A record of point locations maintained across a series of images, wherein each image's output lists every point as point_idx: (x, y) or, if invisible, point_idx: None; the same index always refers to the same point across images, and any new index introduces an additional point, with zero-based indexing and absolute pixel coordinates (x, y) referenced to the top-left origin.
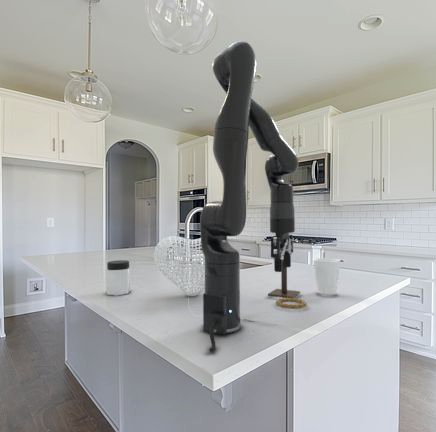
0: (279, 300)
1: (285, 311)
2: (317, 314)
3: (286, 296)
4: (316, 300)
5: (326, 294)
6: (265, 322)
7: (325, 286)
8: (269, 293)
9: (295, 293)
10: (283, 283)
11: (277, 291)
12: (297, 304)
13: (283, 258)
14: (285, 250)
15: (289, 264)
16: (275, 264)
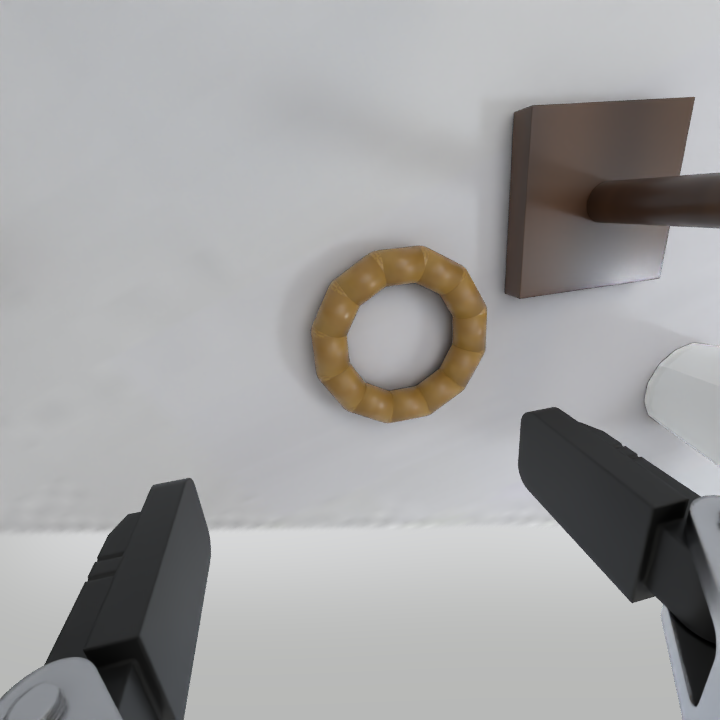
0: (386, 277)
1: (297, 349)
2: (346, 482)
3: (521, 257)
4: (568, 386)
5: (654, 404)
6: (33, 355)
7: (692, 423)
8: (544, 111)
9: (601, 278)
10: (646, 204)
11: (616, 143)
12: (360, 403)
13: (608, 473)
14: (708, 680)
15: (541, 493)
16: (87, 598)
